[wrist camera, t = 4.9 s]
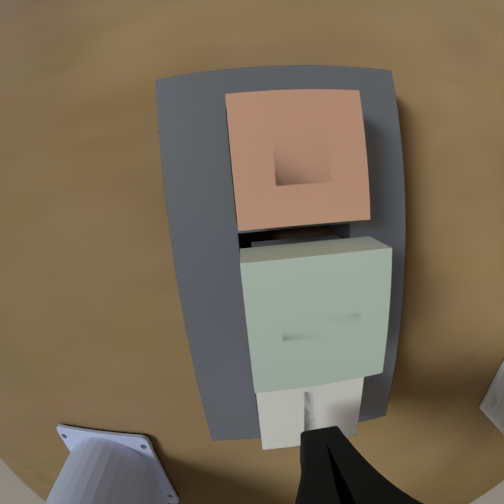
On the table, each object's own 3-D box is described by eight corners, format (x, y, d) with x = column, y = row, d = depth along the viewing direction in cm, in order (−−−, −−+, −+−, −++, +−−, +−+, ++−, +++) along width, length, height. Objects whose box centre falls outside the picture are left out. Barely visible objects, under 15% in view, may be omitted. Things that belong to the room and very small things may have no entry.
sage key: (344, 318, 14) (382, 372, 9) (250, 329, 14) (254, 393, 9) (344, 224, 13) (392, 247, 8) (240, 233, 13) (239, 263, 8)
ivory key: (333, 381, 17) (355, 434, 12) (257, 391, 17) (262, 449, 12) (335, 315, 16) (365, 362, 11) (250, 325, 16) (254, 378, 11)
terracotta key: (332, 206, 14) (370, 219, 10) (239, 214, 14) (238, 231, 10) (324, 114, 13) (359, 90, 9) (230, 120, 13) (225, 93, 9)
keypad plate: (371, 391, 17) (385, 415, 15) (214, 412, 17) (212, 440, 15) (370, 84, 13) (391, 70, 11) (169, 94, 13) (156, 79, 11)
